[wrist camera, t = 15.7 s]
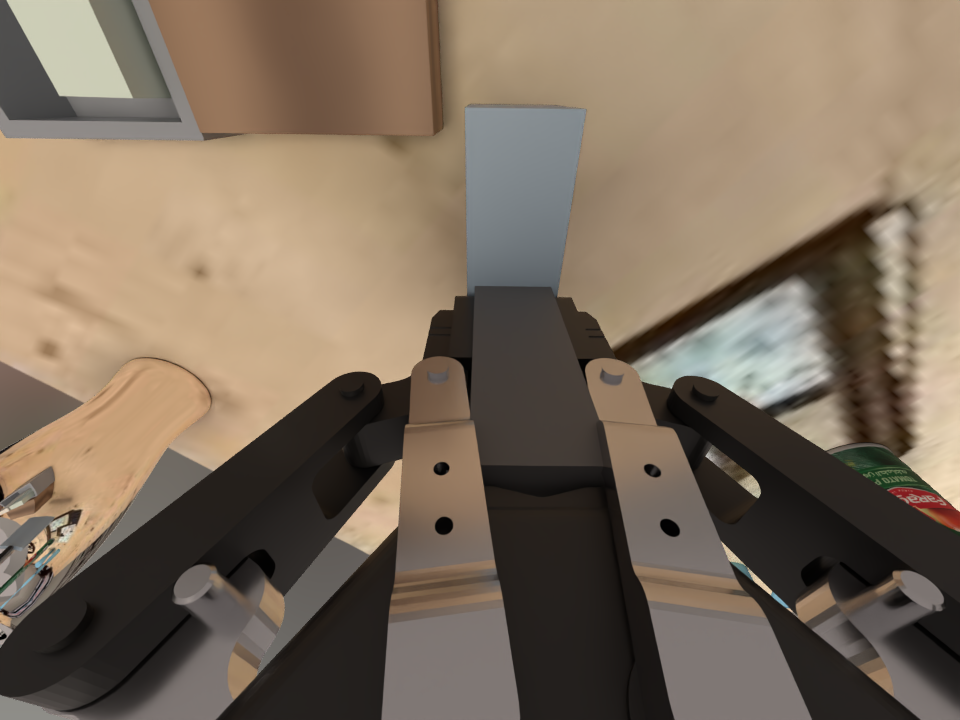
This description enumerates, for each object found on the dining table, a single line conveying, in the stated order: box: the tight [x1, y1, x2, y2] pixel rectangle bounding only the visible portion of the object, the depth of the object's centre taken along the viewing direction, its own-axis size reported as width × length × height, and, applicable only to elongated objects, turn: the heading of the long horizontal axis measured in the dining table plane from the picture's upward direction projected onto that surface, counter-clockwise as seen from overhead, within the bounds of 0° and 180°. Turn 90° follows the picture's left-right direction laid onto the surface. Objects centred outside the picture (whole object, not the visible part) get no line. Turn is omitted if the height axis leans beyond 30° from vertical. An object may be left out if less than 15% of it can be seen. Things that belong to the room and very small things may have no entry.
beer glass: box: [0, 358, 211, 645], centre depth 21 cm, size 7×7×15 cm
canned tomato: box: [826, 443, 960, 536], centre depth 28 cm, size 8×8×11 cm
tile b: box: [7, 0, 172, 98], centre depth 12 cm, size 4×4×2 cm
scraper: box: [465, 104, 605, 497], centre depth 11 cm, size 3×12×12 cm, turn 0°
